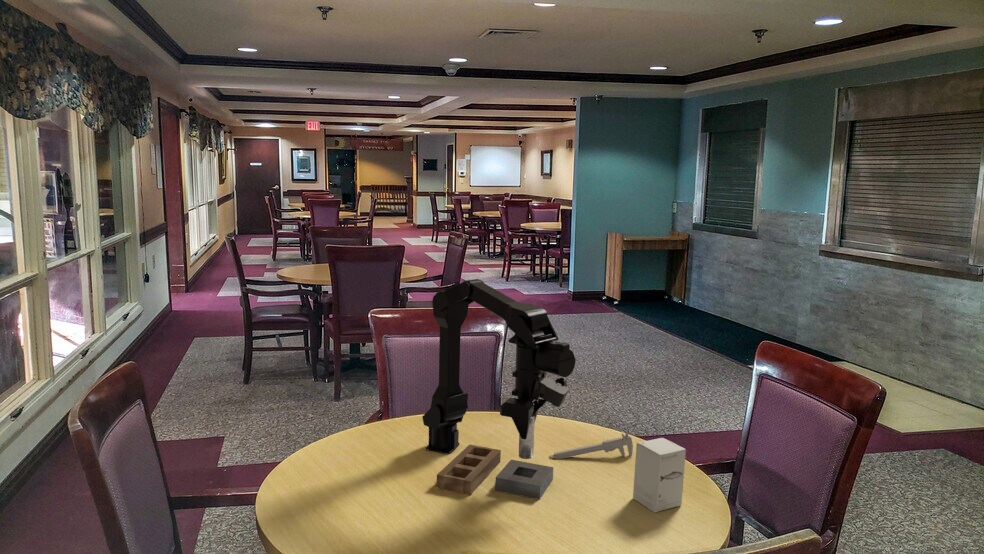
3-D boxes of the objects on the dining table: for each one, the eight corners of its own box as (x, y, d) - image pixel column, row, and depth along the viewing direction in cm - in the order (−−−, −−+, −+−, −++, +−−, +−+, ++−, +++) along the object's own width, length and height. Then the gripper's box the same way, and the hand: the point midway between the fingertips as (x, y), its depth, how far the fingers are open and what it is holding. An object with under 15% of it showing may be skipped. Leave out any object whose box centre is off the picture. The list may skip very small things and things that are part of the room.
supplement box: (655, 513, 139) (659, 454, 137) (631, 498, 145) (635, 441, 143) (682, 506, 142) (687, 448, 140) (658, 491, 149) (662, 436, 147)
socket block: (495, 490, 147) (495, 477, 146) (510, 471, 156) (511, 459, 156) (539, 499, 143) (540, 486, 143) (552, 479, 153) (553, 467, 152)
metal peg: (516, 457, 148) (517, 417, 146) (521, 452, 151) (522, 412, 149) (530, 460, 147) (532, 419, 145) (535, 454, 150) (536, 415, 148)
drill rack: (436, 487, 147) (436, 474, 147) (469, 456, 164) (469, 444, 164) (470, 494, 145) (471, 481, 144) (500, 462, 161) (500, 450, 161)
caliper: (630, 455, 167) (632, 431, 166) (632, 457, 166) (633, 433, 165) (548, 458, 165) (549, 433, 164) (549, 460, 164) (550, 435, 163)
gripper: (553, 383, 134) (550, 458, 137) (576, 360, 151) (573, 427, 154) (500, 376, 138) (497, 449, 140) (528, 354, 155) (526, 419, 158)
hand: (526, 436), depth 148 cm, fingers closed on metal peg, 3 cm apart
